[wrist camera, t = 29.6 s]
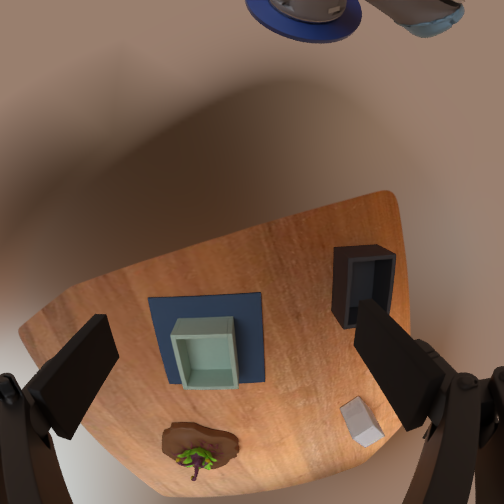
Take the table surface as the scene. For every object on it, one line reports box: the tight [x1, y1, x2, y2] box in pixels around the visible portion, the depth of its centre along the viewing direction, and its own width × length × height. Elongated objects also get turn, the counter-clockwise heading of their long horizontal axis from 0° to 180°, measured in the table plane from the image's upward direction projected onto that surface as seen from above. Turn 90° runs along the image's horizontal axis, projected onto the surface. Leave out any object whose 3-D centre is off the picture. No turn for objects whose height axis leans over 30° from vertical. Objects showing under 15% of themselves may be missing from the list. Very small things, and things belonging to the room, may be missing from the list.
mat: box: [148, 292, 265, 384], centre depth 48 cm, size 20×20×1 cm
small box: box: [340, 396, 385, 448], centre depth 50 cm, size 8×6×10 cm
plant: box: [162, 422, 239, 481], centre depth 51 cm, size 20×20×11 cm
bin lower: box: [331, 244, 396, 329], centre depth 43 cm, size 12×8×7 cm
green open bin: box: [170, 316, 239, 390], centre depth 45 cm, size 12×10×6 cm
